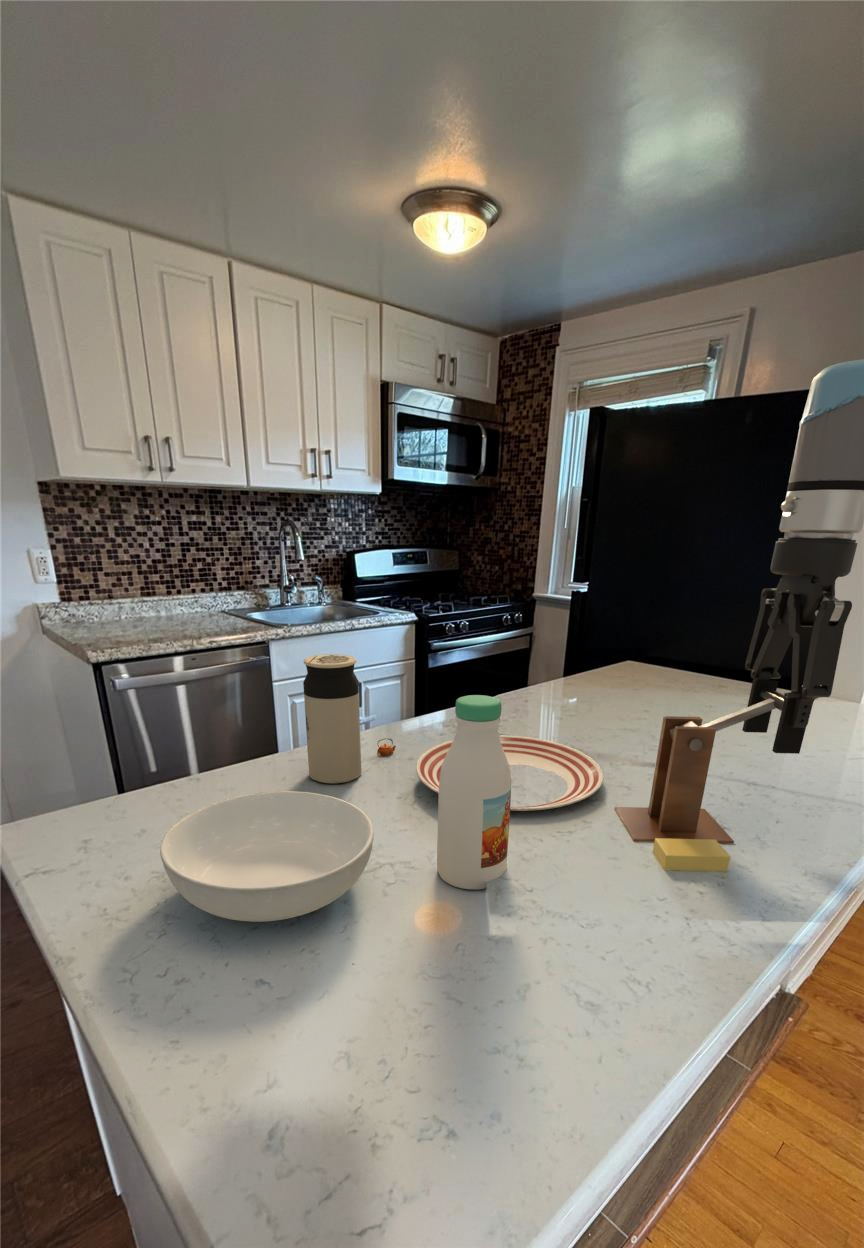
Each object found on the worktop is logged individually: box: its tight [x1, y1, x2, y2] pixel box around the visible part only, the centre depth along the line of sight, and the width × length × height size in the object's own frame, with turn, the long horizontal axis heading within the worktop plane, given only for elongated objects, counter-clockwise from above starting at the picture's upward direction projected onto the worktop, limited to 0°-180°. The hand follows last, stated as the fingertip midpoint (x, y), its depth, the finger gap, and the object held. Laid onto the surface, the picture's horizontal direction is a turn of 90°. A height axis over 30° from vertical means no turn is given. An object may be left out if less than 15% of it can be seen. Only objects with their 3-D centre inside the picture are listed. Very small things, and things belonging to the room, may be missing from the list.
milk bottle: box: [436, 694, 512, 890], centre depth 64 cm, size 8×8×20 cm
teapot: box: [376, 738, 397, 757], centre depth 103 cm, size 3×3×3 cm
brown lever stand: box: [613, 715, 735, 844], centre depth 75 cm, size 12×9×15 cm
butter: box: [652, 838, 731, 872], centre depth 69 cm, size 7×4×3 cm, turn 89°
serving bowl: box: [159, 790, 375, 923], centre depth 63 cm, size 21×21×7 cm
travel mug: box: [302, 653, 362, 785], centre depth 91 cm, size 8×8×18 cm
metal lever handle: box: [670, 688, 785, 740], centre depth 72 cm, size 13×6×2 cm, turn 89°
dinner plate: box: [415, 734, 604, 812], centre depth 91 cm, size 27×27×3 cm
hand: (769, 741), depth 73 cm, fingers open, 7 cm apart
